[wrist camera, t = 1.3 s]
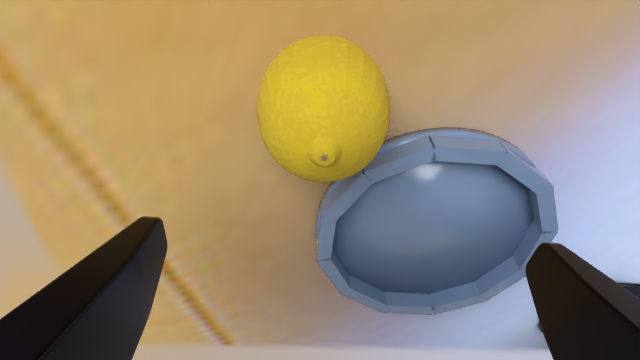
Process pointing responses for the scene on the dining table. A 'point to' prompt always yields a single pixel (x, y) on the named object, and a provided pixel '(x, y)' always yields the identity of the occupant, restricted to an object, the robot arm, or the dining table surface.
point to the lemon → (323, 108)
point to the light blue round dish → (434, 222)
